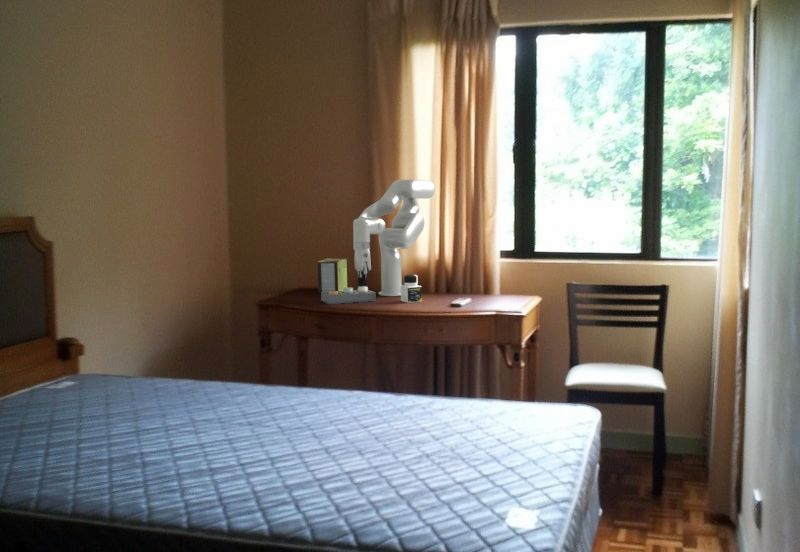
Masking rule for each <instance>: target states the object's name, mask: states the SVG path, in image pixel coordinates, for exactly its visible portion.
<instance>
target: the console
mask: <svg viewBox="0 0 800 552" xmlns="http://www.w3.org/2000/svg"><path fill="white" fill-rule="evenodd" d="M320 296H321V297H320V301H321V302H322V301H323V302H322V303H324V302H325V304H327V305H330V304H331V305H341V303H345V304H354V303H353V302H359V303H369V302H368V301H372V302H377V297H376V296H377V295H376V291H373V290H369V289H368V292H358V289H353V293H343V291H338V294H329V292H321V293H320Z"/></svg>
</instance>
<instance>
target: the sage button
mask: <svg viewBox="0 0 800 552" xmlns="http://www.w3.org/2000/svg"><path fill="white" fill-rule="evenodd" d="M353 290H354V287H351V286H349V287H348V286H347V288H343V293H353Z"/></svg>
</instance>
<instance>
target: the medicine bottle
mask: <svg viewBox="0 0 800 552" xmlns="http://www.w3.org/2000/svg"><path fill="white" fill-rule="evenodd" d="M418 277H419V276H418V275H416V274H406V275H404V277H403V282H404V283H403V284H402V285H401V296H400V302H403V303H408V304H409V303H410V304H411V303H412V304H413V303H421V302H423V300H422V299H423V298H422V297H423V296H422V295H423V291H422V288H423V287H422V285H418V282H419V281H418V280H419V279H418Z"/></svg>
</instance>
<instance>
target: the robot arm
mask: <svg viewBox="0 0 800 552" xmlns="http://www.w3.org/2000/svg"><path fill="white" fill-rule="evenodd" d="M435 190H436V188H435V184H434V183H433V182H432V181H430V180H420V179H419V180H418V179H396V180H394V181H393V182H392V183H391V185H390V186H389V187H388V188H387V190H386V191H385V193H384V194H383V196H382V197H380V199H379V200H377V201H376V202H374V203H372V204H371V205H369V206H368V207H366V208H365V209H364V210H363V211H362V212H361V214H360V215H359V217H357V218H355V219H354V220H353V223H352V224H353V226H352V228H353V230H352V231H353V233H352V235H353V236H352V237H353V250H354V269H355V270H356V272H357V277H358V283H357V284H358V286H357V287H362V286H365V287H367V274H368V272H371V270H372V264H371V263H372V262H371V261H372V260H371V251H370V250H371V235H378V244H379V249H380V261H381V262H380V266H381V267H380V269H381V291H379V292H378V295H379V296H380V297H401V285H403V284H402V282H403V281H402V278H403V277H402V255H401V252H400V251H399V250H408V249H410V248H411V247H412V246H414V244H415V242H416V240H417V239H418V238H419V236H420V235H421V233H422V232H423V230H424V228H425V219H424V217H423V215H422V214H420V207H419V204H418V200H417V199H430V198H433V196H434V195H435V192H436V191H435ZM402 202H403V203H402ZM401 203H402V206H401V207H400V208H399V210H398V212H397V214H396V215H395V216H394V217H393V219H392V221H391V227H386V223H385V221H384V220H383V219H382V218H380V217H382V216H386V215H389V214H391V213H393V212H395V211H396V210H397V208H398V207H399V205H400V204H401Z"/></svg>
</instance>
